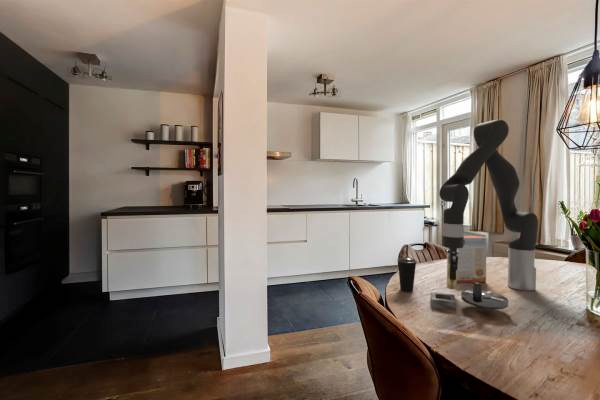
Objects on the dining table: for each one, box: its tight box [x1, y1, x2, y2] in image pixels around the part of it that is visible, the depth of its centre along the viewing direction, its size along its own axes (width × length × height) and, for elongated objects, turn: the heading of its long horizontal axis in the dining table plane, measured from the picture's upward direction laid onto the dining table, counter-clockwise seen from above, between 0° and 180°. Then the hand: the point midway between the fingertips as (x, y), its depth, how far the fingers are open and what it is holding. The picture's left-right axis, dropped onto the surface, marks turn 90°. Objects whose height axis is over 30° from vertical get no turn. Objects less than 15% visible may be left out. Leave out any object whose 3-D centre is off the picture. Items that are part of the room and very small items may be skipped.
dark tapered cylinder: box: [397, 244, 418, 293], centre depth 125 cm, size 8×8×20 cm
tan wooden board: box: [430, 291, 511, 323], centre depth 106 cm, size 23×15×4 cm, turn 68°
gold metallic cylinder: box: [446, 259, 458, 290], centre depth 118 cm, size 4×4×11 cm
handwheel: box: [460, 282, 509, 310], centre depth 104 cm, size 14×14×8 cm
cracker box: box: [457, 235, 487, 283], centre depth 140 cm, size 14×6×21 cm, turn 84°
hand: (452, 277), depth 118 cm, fingers closed on gold metallic cylinder, 3 cm apart
